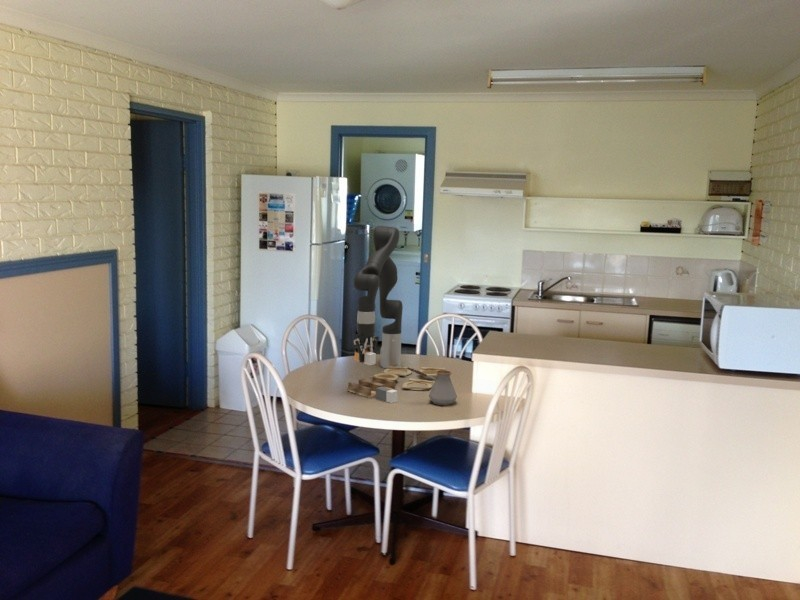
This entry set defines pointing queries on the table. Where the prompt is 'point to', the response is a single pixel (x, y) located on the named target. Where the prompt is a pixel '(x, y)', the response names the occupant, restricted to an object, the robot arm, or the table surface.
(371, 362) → the orange white rectangular block
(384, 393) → the two-tone square pillar
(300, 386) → the table surface
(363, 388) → the brown wooden divided tray
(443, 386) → the coffee pot
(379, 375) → the tableware set
